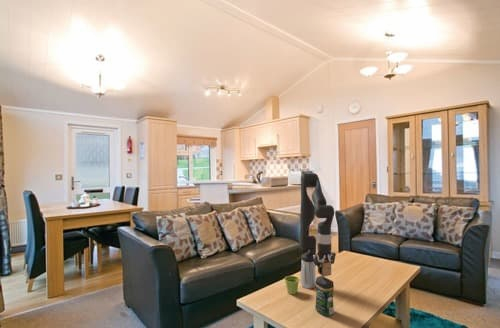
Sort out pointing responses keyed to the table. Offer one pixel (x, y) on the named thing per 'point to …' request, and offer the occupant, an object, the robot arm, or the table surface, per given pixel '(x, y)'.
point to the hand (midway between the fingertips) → (324, 272)
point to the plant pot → (292, 284)
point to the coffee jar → (324, 296)
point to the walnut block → (326, 268)
